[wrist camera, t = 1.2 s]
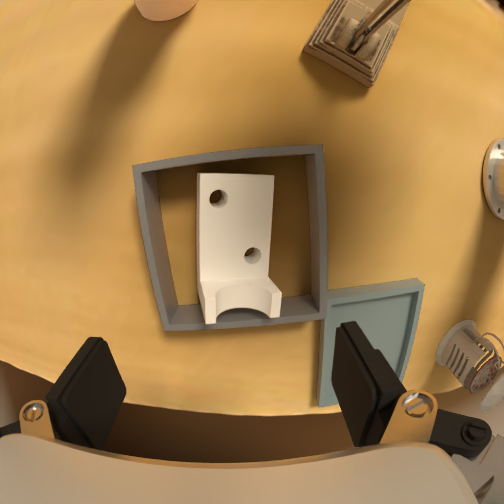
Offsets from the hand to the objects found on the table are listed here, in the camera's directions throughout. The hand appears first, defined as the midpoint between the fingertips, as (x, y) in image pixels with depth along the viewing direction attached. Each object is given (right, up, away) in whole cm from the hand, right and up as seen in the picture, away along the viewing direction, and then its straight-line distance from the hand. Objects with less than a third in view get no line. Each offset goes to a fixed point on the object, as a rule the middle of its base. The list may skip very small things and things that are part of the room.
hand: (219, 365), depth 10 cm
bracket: (0, +6, +21) cm, 22 cm away
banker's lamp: (+15, +33, +12) cm, 39 cm away
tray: (+17, -9, +25) cm, 32 cm away
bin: (0, +6, +20) cm, 21 cm away
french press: (+36, -11, +26) cm, 46 cm away
